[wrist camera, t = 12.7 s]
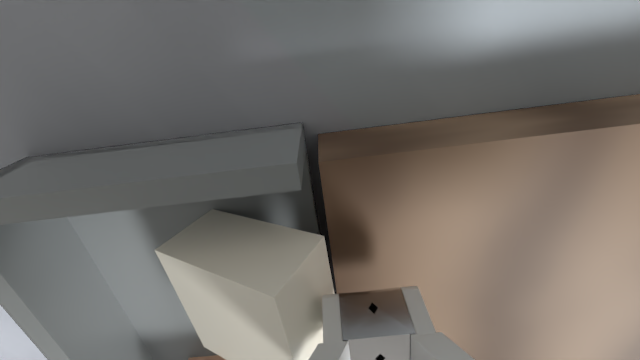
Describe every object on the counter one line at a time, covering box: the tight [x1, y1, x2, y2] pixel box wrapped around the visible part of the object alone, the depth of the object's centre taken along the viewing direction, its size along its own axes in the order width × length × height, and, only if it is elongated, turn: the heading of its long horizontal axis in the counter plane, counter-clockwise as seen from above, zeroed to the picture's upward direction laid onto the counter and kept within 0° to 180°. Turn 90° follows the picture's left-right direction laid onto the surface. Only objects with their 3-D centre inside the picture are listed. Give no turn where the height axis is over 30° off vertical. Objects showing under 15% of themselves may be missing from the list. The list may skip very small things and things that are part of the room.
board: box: [318, 94, 640, 360], centre depth 14 cm, size 14×18×2 cm
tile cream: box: [155, 209, 335, 360], centre depth 11 cm, size 5×5×2 cm
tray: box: [0, 123, 320, 360], centre depth 14 cm, size 10×19×4 cm, turn 7°
